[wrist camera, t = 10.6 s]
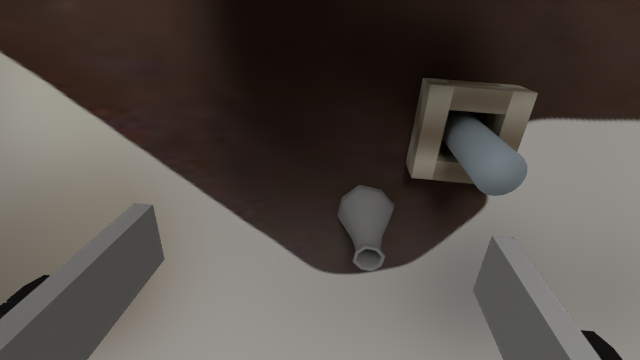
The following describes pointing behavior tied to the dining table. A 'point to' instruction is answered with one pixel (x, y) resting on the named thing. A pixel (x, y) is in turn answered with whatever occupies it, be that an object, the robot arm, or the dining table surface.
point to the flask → (366, 223)
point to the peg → (483, 154)
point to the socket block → (443, 95)
